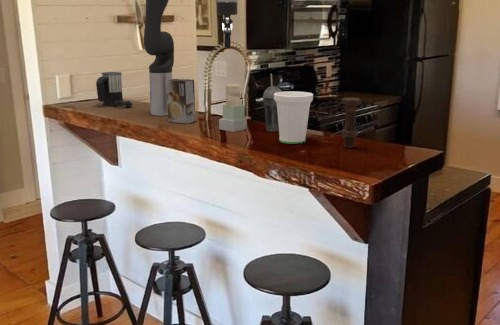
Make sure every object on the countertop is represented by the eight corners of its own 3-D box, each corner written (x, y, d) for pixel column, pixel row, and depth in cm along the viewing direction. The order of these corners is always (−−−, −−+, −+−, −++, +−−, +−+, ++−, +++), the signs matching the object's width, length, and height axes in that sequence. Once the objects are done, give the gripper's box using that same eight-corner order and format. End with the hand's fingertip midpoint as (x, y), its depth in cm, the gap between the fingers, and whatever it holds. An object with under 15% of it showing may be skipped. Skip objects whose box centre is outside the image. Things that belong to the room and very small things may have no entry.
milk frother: (108, 103, 248) (106, 71, 245) (140, 104, 246) (138, 71, 242) (95, 108, 235) (92, 74, 231) (129, 109, 233) (127, 75, 229)
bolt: (353, 150, 159) (355, 100, 155) (337, 148, 162) (339, 99, 158) (360, 146, 164) (362, 98, 160) (344, 144, 167) (347, 96, 163)
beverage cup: (287, 130, 188) (288, 73, 183) (273, 133, 183) (274, 74, 178) (271, 127, 193) (272, 72, 188) (258, 130, 188) (258, 73, 182)
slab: (219, 129, 190) (218, 118, 189) (232, 127, 195) (232, 116, 194) (233, 132, 185) (233, 121, 184) (246, 129, 190) (246, 118, 189)
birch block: (226, 103, 190) (225, 84, 188) (239, 103, 190) (239, 83, 188) (226, 106, 185) (226, 86, 183) (239, 105, 186) (239, 85, 184)
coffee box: (196, 121, 204) (195, 79, 200) (187, 124, 199) (185, 81, 195) (176, 119, 208) (175, 78, 204) (167, 121, 203) (165, 79, 199)
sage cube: (222, 118, 189) (222, 104, 188) (234, 116, 193) (234, 103, 192) (233, 120, 185) (233, 106, 184) (244, 118, 189) (244, 104, 188)
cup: (319, 141, 171) (321, 93, 167) (294, 147, 163) (295, 97, 159) (290, 135, 180) (291, 90, 176) (265, 141, 171) (265, 93, 167)
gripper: (216, 1, 199) (217, 46, 203) (216, 0, 185) (217, 48, 189) (236, 1, 199) (237, 46, 203) (237, 0, 185) (238, 48, 190)
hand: (227, 46), depth 196 cm, fingers open, 8 cm apart
